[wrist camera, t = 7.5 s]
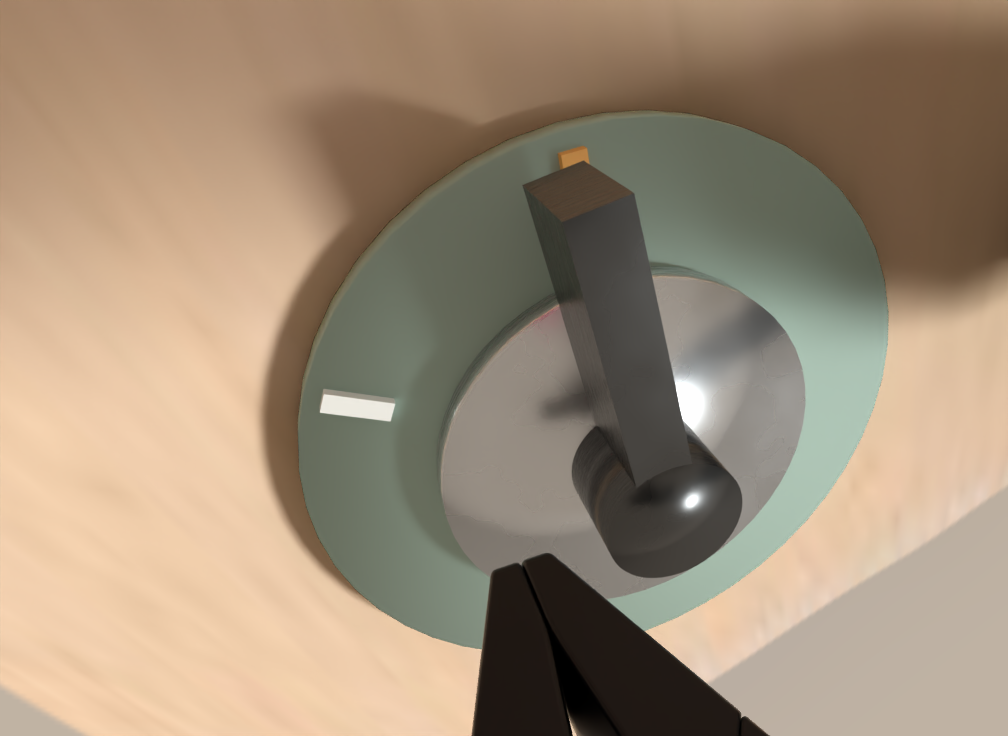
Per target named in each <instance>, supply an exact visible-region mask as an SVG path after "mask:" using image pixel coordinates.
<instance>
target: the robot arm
mask: <svg viewBox="0 0 1008 736" xmlns="http://www.w3.org/2000/svg"><path fill="white" fill-rule="evenodd" d="M569 718H570V721H571V724H572V726H573V728H574V730H575V733H576V735H577V736H769V735H768V734H766V733H765V732H764V731H763V730H762V729H761V728H759V727H758V726H757V725H756V724H755V723H754V722H752V721H751V720H750V719H749V718H748V717H746V716H744V717H742V718H741V712H740V711H739V710H738V709H736V708H735V707H734V706H733V705H732V704H730V703H729V702H728V701H727V700H726V699H725V698H723V697H722V696H721V695H720V694H719V693H717V692H716V691H715V690H714V689H713V688H712V687H710V686H709V685H708V684H707V683H706V682H704V681H703V680H702V679H701V678H700V677H698V676H697V675H696V674H695V673H694V672H692V671H691V670H690V669H689V668H688V667H686V666H685V665H684V664H683V663H682V662H681V661H679V660H678V659H677V658H676V657H675V656H673V655H672V654H671V653H670V652H669V651H667V650H666V649H665V648H664V647H663V646H661V645H660V644H659V643H658V642H657V641H655V640H654V639H653V638H652V637H651V636H649V635H648V634H647V633H646V632H645V631H644V630H642V629H641V628H640V627H639V626H638V625H636V624H635V623H634V622H633V621H632V620H630V619H629V618H628V617H627V616H626V615H624V614H623V613H622V612H621V611H620V610H618V609H617V608H616V607H615V606H614V605H613V604H611V603H610V602H609V601H608V600H607V599H605V598H604V597H603V596H602V595H601V594H599V593H598V592H597V591H596V590H595V589H593V588H592V587H591V586H590V585H589V584H587V583H586V582H585V581H584V580H583V579H582V578H580V577H579V576H578V575H577V574H576V573H574V572H573V571H572V570H571V569H570V568H568V567H567V566H566V565H565V564H564V563H562V562H561V561H560V560H559V559H558V558H556V557H555V556H554V555H553V554H551V553H543V554H540V555H537V556H534V557H531V558H528V559H525V560H524V561H523V562H522V566H521V564H519V563H513V564H510V565H507V566H504V567H501V568H498V569H495V570H493V571H492V573H491V576H490V584H489V593H488V601H487V610H486V618H485V627H484V635H483V643H482V652H481V660H480V669H479V677H478V686H477V694H476V703H475V711H474V720H473V728H472V736H573V735H572V730H571V725H570V721H569Z"/></svg>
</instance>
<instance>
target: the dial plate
mask: <svg viewBox="0 0 1008 736" xmlns="http://www.w3.org/2000/svg"><path fill="white" fill-rule="evenodd" d="M583 160H584V161H585V162H587V163H588V164H590V165H591V166H593V167H595V168H596V169H598V170H599V171H601V172H602V173H604V174H605V175H607V176H609V177H610V178H612V179H613V180H615V181H616V182H618V183H619V184H621V185H623V186H624V187H626V188H627V189H629V190H630V191H632V192H633V193H634V194H635V199H636V204H637V208H638V213H639V218H640V222H641V227H642V232H643V236H644V241H645V246H646V250H647V255H648V260H649V264H650V266H660V267H678V268H683V269H687V270H692V271H697V272H701V273H704V274H707V275H709V276H712V277H715V278H718V279H720V280H722V281H724V282H726V283H728V284H729V285H731V286H733V287H734V288H736V289H738V290H740V291H741V292H742V293H744V294H745V295H747V296H748V297H749V298H751V299H752V300H754V301H755V302H757V303H758V304H759V305H760V306H762V307H763V308H764V309H765V310H766V311H768V312H769V313H770V314H771V315H772V316H774V318H775V319H776V320H777V321H778V322H779V324H780V325H781V326H782V327H783V328H784V330H785V331H786V332H787V334H788V336H789V338H790V339H791V341H792V343H793V345H794V347H795V348H796V351H797V354H798V357H799V360H800V362H801V365H802V370H803V375H804V381H805V403H806V406H805V413H804V421H803V427H802V431H801V435H800V438H799V442H798V446H797V448H796V451H795V453H794V456H793V458H792V461H791V463H790V465H789V467H788V469H787V471H786V473H785V475H784V477H783V479H782V481H781V482H780V484H779V486H778V487H777V489H776V490H775V492H774V493H773V495H772V496H771V498H770V499H769V501H768V502H767V503H766V504H765V506H764V507H763V508H762V509H761V510H760V512H759V513H758V514H757V515H756V517H755V518H754V519H753V520H752V521H751V522H750V523H749V524H748V525H747V526H746V527H745V528H744V529H743V530H742V531H741V532H740V533H739V534H738V535H737V536H736V537H735V538H733V539H732V540H731V541H730V542H729V543H728V544H726V545H725V546H724V547H723V548H722V549H720V550H719V551H717V552H716V553H715V554H713V555H712V556H711V557H709V558H708V559H706V560H705V561H704V562H702V563H700V564H699V565H697V566H695V567H693V568H692V569H690V570H688V571H687V572H685V573H683V574H681V575H679V576H677V577H675V578H673V579H671V580H669V581H667V582H664V583H662V584H659V585H657V586H654V587H652V588H649V589H646V590H643V591H640V592H636V593H633V594H629V595H626V596H621V597H616V598H611V599H607V600H608V601H609V602H610V603H611V604H613V605H614V606H615V607H616V608H617V609H618V610H620V611H621V612H622V613H623V614H624V615H626V616H627V617H628V618H629V619H630V620H632V621H633V622H634V623H635V624H636V625H638V626H639V627H640V628H641V629H642V630H644V631H646V630H648V629H651V628H653V627H656V626H658V625H660V624H663V623H665V622H667V621H670V620H672V619H674V618H677V617H679V616H681V615H683V614H685V613H686V612H688V611H690V610H692V609H694V608H696V607H698V606H700V605H702V604H704V603H706V602H707V601H709V600H710V599H712V598H714V597H715V596H717V595H718V594H720V593H722V592H723V591H725V590H726V589H728V588H730V587H731V586H733V585H734V584H735V583H737V582H738V581H739V580H741V579H742V578H744V577H745V576H746V575H748V574H749V573H750V572H752V571H753V570H754V569H756V568H757V567H758V566H760V565H761V564H762V563H763V562H764V561H765V560H766V559H768V558H769V557H770V556H771V555H772V554H773V553H774V552H775V551H777V550H778V549H779V548H780V547H781V546H782V545H783V544H784V543H785V542H786V541H787V540H788V539H789V538H790V537H791V536H792V535H793V534H794V533H795V532H796V531H797V530H798V529H799V528H800V527H801V526H802V525H803V524H804V523H805V522H806V521H807V519H808V518H809V517H810V516H811V514H812V513H813V512H814V511H815V509H816V508H817V507H818V506H819V504H820V503H821V502H822V501H823V499H824V498H825V497H826V496H827V495H828V493H829V492H830V490H831V489H832V487H833V486H834V484H835V483H836V481H837V480H838V478H839V477H840V475H841V473H842V472H843V470H844V469H845V467H846V466H847V464H848V462H849V460H850V458H851V456H852V455H853V453H854V451H855V449H856V447H857V445H858V443H859V441H860V440H861V438H862V435H863V433H864V430H865V428H866V425H867V423H868V420H869V418H870V416H871V413H872V411H873V408H874V405H875V401H876V398H877V394H878V391H879V387H880V384H881V380H882V377H883V370H884V364H885V358H886V351H887V345H888V305H887V297H886V288H885V280H884V277H883V273H882V270H881V266H880V262H879V259H878V255H877V252H876V248H875V246H874V244H873V242H872V240H871V238H870V236H869V234H868V232H867V230H866V227H865V225H864V223H863V221H862V219H861V218H860V216H859V215H858V213H857V212H856V211H855V209H854V208H853V206H852V205H851V204H850V202H849V201H848V199H847V198H846V197H845V195H844V194H843V192H842V191H841V190H840V189H839V188H838V187H837V186H836V185H835V184H834V183H833V182H832V181H831V180H830V179H829V178H828V177H827V176H825V175H824V174H823V173H822V172H821V171H820V170H819V169H818V168H817V167H816V166H815V165H813V164H812V163H810V162H809V161H807V160H806V159H804V158H803V157H801V156H800V155H798V154H797V153H795V152H794V151H792V150H791V149H789V148H788V147H786V146H785V145H782V144H780V143H778V142H775V141H773V140H771V139H769V138H766V137H764V136H762V135H759V134H757V133H755V132H752V131H750V130H748V129H745V128H742V127H739V126H736V125H733V124H730V123H726V122H722V121H718V120H714V119H710V118H706V117H702V116H698V115H694V114H690V113H678V112H666V111H654V110H638V111H623V112H608V113H599V114H594V115H589V116H585V117H580V118H575V119H570V120H566V121H561V122H556V123H553V124H550V125H547V126H545V127H542V128H539V129H536V130H534V131H531V132H528V133H525V134H522V135H520V136H517V137H514V138H511V139H509V140H507V141H505V142H503V143H501V144H499V145H497V146H495V147H493V148H491V149H489V150H487V151H486V152H484V153H482V154H480V155H478V156H476V157H474V158H472V159H470V160H468V161H466V162H464V163H463V164H462V165H460V166H459V167H457V168H456V169H454V170H453V171H452V172H450V173H449V174H447V175H446V176H444V177H443V178H441V179H440V180H439V181H437V182H436V183H434V184H433V185H431V186H430V187H429V188H427V189H426V190H424V191H423V192H422V193H421V194H420V195H419V196H418V197H417V198H415V199H414V200H413V201H412V202H411V203H410V204H409V205H408V206H407V207H406V208H404V209H403V210H402V211H401V212H400V213H399V214H398V215H397V216H396V217H395V218H393V219H392V220H391V221H390V222H389V223H388V224H387V225H386V226H385V228H384V229H383V230H382V231H381V232H380V233H379V235H378V236H377V237H376V238H375V239H374V241H373V242H372V243H371V244H370V245H369V246H368V248H367V249H366V250H365V251H364V252H363V254H362V255H361V256H360V257H359V258H358V259H357V261H356V262H355V264H354V266H353V267H352V269H351V270H350V272H349V273H348V275H347V277H346V278H345V280H344V281H343V283H342V284H341V286H340V288H339V289H338V291H337V292H336V294H335V295H334V297H333V299H332V301H331V303H330V305H329V307H328V309H327V312H326V314H325V316H324V318H323V320H322V323H321V325H320V327H319V329H318V331H317V334H316V336H315V338H314V341H313V345H312V348H311V352H310V355H309V359H308V362H307V366H306V369H305V373H304V376H303V381H302V389H301V397H300V405H299V413H298V451H299V474H300V479H301V484H302V489H303V493H304V498H305V503H306V508H307V510H308V513H309V515H310V518H311V520H312V523H313V526H314V528H315V531H316V533H317V536H318V538H319V540H320V542H321V543H322V545H323V547H324V548H325V550H326V552H327V553H328V555H329V556H330V558H331V560H332V561H333V563H334V565H335V566H336V567H337V569H338V570H339V571H340V572H341V573H342V574H343V576H344V577H345V578H346V579H347V580H348V581H349V582H350V584H351V585H352V586H353V587H354V588H355V589H356V590H357V591H358V592H359V593H360V594H361V595H363V596H364V597H365V598H366V599H367V600H369V601H370V602H371V603H372V604H373V605H374V606H376V607H377V608H378V609H379V610H381V611H383V612H384V613H386V614H387V615H389V616H391V617H392V618H394V619H396V620H397V621H399V622H400V623H402V624H404V625H405V626H408V627H410V628H412V629H415V630H417V631H419V632H421V633H424V634H426V635H428V636H431V637H433V638H436V639H440V640H443V641H447V642H450V643H453V644H457V645H460V646H465V647H471V648H477V649H482V643H483V635H484V627H485V618H486V610H487V601H488V593H489V584H490V577H489V576H488V575H486V574H485V573H484V572H483V571H481V570H480V569H479V568H478V567H476V566H475V564H474V563H473V562H472V561H471V560H470V559H469V558H468V557H467V555H466V554H465V553H464V552H463V550H462V549H461V547H460V545H459V544H458V542H457V541H456V539H455V537H454V535H453V533H452V530H451V528H450V525H449V523H448V520H447V517H446V514H445V510H444V506H443V503H442V499H441V495H440V490H439V485H438V480H437V463H436V456H437V447H438V439H439V433H440V430H441V426H442V422H443V418H444V415H445V412H446V410H447V407H448V405H449V403H450V400H451V398H452V396H453V393H454V391H455V389H456V387H457V386H458V384H459V382H460V381H461V379H462V377H463V376H464V374H465V372H466V371H467V369H468V367H469V366H470V365H471V364H472V362H473V361H474V360H475V358H476V357H477V356H478V355H479V353H480V352H481V351H482V349H483V348H484V347H485V346H486V345H487V344H488V343H489V342H490V341H491V340H492V339H493V338H494V337H495V336H496V335H497V334H498V333H499V332H500V331H501V330H502V329H503V328H504V327H505V326H506V325H507V324H509V323H510V322H511V321H512V320H514V319H515V318H516V317H517V316H519V315H520V314H521V313H522V312H524V311H525V310H526V309H528V308H529V307H531V306H533V305H534V304H536V303H537V302H539V301H541V300H542V299H544V298H545V297H547V296H548V295H550V294H552V293H554V292H555V291H554V288H553V285H552V281H551V278H550V275H549V271H548V268H547V265H546V261H545V258H544V255H543V252H542V248H541V245H540V242H539V238H538V235H537V232H536V229H535V225H534V222H533V219H532V215H531V212H530V209H529V206H528V202H527V199H526V196H525V192H524V189H523V186H522V185H524V184H526V183H529V182H531V181H533V180H536V179H538V178H541V177H543V176H546V175H548V174H551V173H553V172H556V171H558V170H561V169H563V168H566V167H568V166H571V165H573V164H576V163H578V162H581V161H583Z"/></svg>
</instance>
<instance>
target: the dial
mask: <svg viewBox="0 0 1008 736" xmlns="http://www.w3.org/2000/svg"><path fill="white" fill-rule="evenodd" d="M522 186H523V189H524V192H525V196H526V199H527V202H528V206H529V209H530V212H531V215H532V219H533V222H534V225H535V229H536V232H537V235H538V238H539V242H540V245H541V248H542V252H543V255H544V258H545V261H546V265H547V268H548V271H549V275H550V278H551V281H552V285H553V288H554V291H555V292H554V293H552V294H550V295H548V296H547V297H545V298H544V299H542V300H541V301H539V302H537V303H536V304H534V305H533V306H531V307H529V308H528V309H526V310H525V311H524V312H522V313H521V314H520V315H519V316H517V317H516V318H515V319H514V320H512V321H511V322H510V323H509V324H507V325H506V326H505V327H504V328H503V329H502V330H501V331H500V332H499V333H498V334H497V335H496V336H495V337H494V338H493V339H492V340H491V341H490V342H489V343H488V344H487V345H486V346H485V347H484V348H483V349H482V351H481V352H480V353H479V355H478V356H477V357H476V358H475V360H474V361H473V362H472V364H471V365H470V366H469V367H468V369H467V371H466V372H465V374H464V376H463V377H462V379H461V381H460V382H459V384H458V386H457V387H456V389H455V391H454V393H453V396H452V398H451V400H450V403H449V405H448V407H447V410H446V412H445V415H444V418H443V422H442V426H441V430H440V433H439V439H438V447H437V456H436V463H437V480H438V485H439V490H440V495H441V499H442V503H443V506H444V510H445V514H446V517H447V520H448V523H449V525H450V528H451V530H452V533H453V535H454V537H455V539H456V541H457V542H458V544H459V545H460V547H461V549H462V550H463V552H464V553H465V554H466V555H467V557H468V558H469V559H470V560H471V561H472V562H473V563H474V564H475V566H476V567H478V568H479V569H480V570H481V571H483V572H484V573H485V574H486V575H488V576H489V577H490V576H491V573H492V571H493V570H495V569H498V568H501V567H504V566H507V565H510V564H513V563H519V564H521V566H522V562H523V561H524V560H525V559H528V558H531V557H534V556H537V555H540V554H543V553H551V554H553V555H554V556H555V557H556V558H558V559H559V560H560V561H561V562H562V563H564V564H565V565H566V566H567V567H568V568H570V569H571V570H572V571H573V572H574V573H576V574H577V575H578V576H579V577H580V578H582V579H583V580H584V581H585V582H586V583H587V584H589V585H590V586H591V587H592V588H593V589H595V590H596V591H597V592H598V593H599V594H601V595H602V596H603V597H604V598H605V599H611V598H616V597H621V596H626V595H629V594H633V593H636V592H640V591H643V590H646V589H649V588H652V587H654V586H657V585H659V584H662V583H664V582H667V581H669V580H671V579H673V578H675V577H677V576H679V575H681V574H683V573H685V572H687V571H688V570H690V569H692V568H693V567H695V566H697V565H699V564H700V563H702V562H704V561H705V560H706V559H708V558H709V557H711V556H712V555H713V554H715V553H716V552H717V551H719V550H720V549H722V548H723V547H724V546H725V545H726V544H728V543H729V542H730V541H731V540H732V539H733V538H735V537H736V536H737V535H738V534H739V533H740V532H741V531H742V530H743V529H744V528H745V527H746V526H747V525H748V524H749V523H750V522H751V521H752V520H753V519H754V518H755V517H756V515H757V514H758V513H759V512H760V510H761V509H762V508H763V507H764V506H765V504H766V503H767V502H768V501H769V499H770V498H771V496H772V495H773V493H774V492H775V490H776V489H777V487H778V486H779V484H780V482H781V481H782V479H783V477H784V475H785V473H786V471H787V469H788V467H789V465H790V463H791V461H792V458H793V456H794V453H795V451H796V448H797V446H798V442H799V438H800V435H801V431H802V427H803V421H804V413H805V406H806V403H805V381H804V375H803V370H802V365H801V362H800V360H799V357H798V354H797V351H796V348H795V347H794V345H793V343H792V341H791V339H790V338H789V336H788V334H787V332H786V331H785V330H784V328H783V327H782V326H781V325H780V324H779V322H778V321H777V320H776V319H775V318H774V316H772V315H771V314H770V313H769V312H768V311H766V310H765V309H764V308H763V307H762V306H760V305H759V304H758V303H757V302H755V301H754V300H752V299H751V298H749V297H748V296H747V295H745V294H744V293H742V292H741V291H740V290H738V289H736V288H734V287H733V286H731V285H729V284H728V283H726V282H724V281H722V280H720V279H718V278H715V277H712V276H709V275H707V274H704V273H701V272H697V271H692V270H687V269H683V268H678V267H660V266H650V264H649V260H648V255H647V250H646V246H645V241H644V236H643V232H642V227H641V222H640V218H639V213H638V208H637V204H636V199H635V194H634V193H633V192H632V191H630V190H629V189H627V188H626V187H624V186H623V185H621V184H619V183H618V182H616V181H615V180H613V179H612V178H610V177H609V176H607V175H605V174H604V173H602V172H601V171H599V170H598V169H596V168H595V167H593V166H591V165H590V164H588V163H587V162H585V161H584V160H583V161H581V162H578V163H576V164H573V165H571V166H568V167H566V168H563V169H561V170H558V171H556V172H553V173H551V174H548V175H546V176H543V177H541V178H538V179H536V180H533V181H531V182H529V183H526V184H524V185H522Z"/></svg>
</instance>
